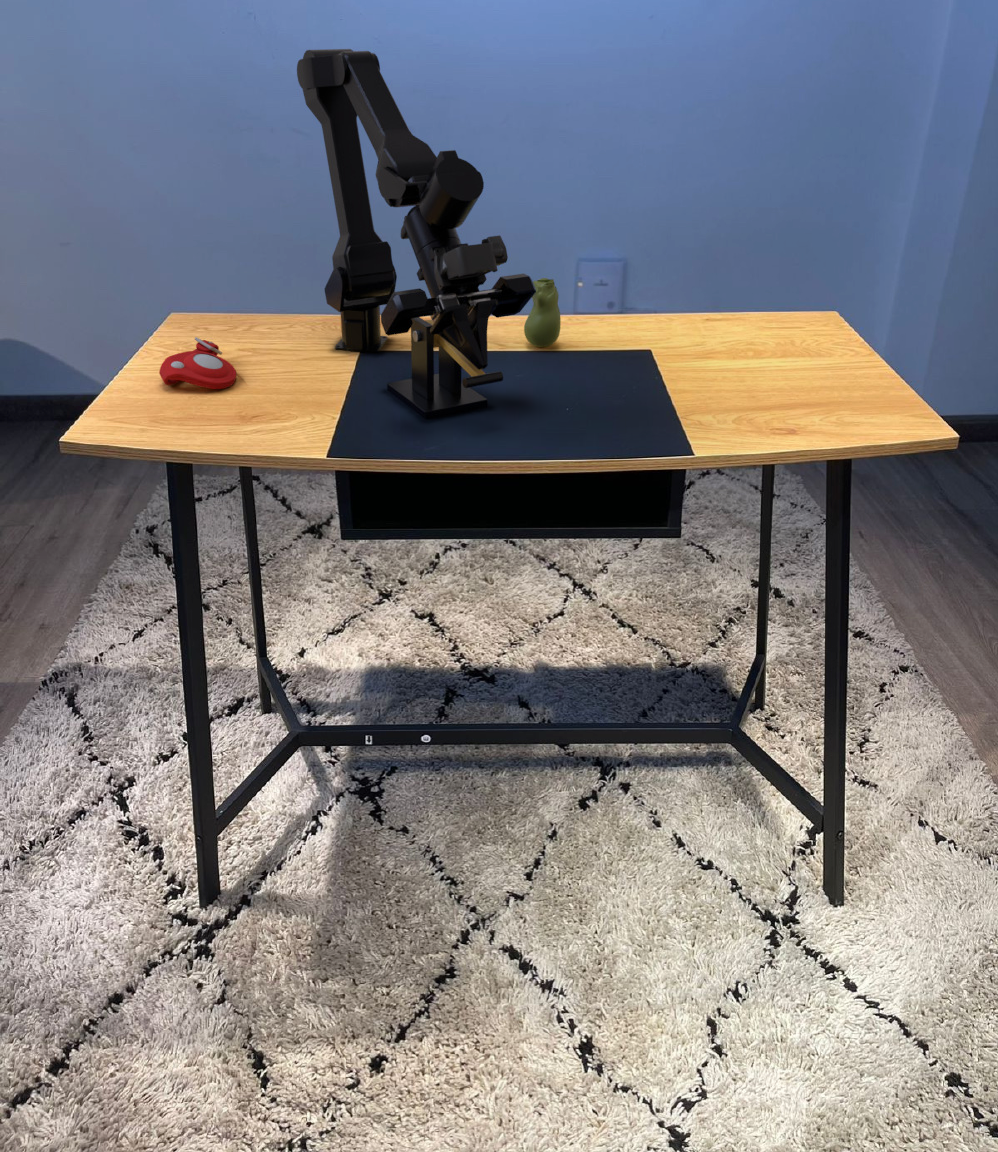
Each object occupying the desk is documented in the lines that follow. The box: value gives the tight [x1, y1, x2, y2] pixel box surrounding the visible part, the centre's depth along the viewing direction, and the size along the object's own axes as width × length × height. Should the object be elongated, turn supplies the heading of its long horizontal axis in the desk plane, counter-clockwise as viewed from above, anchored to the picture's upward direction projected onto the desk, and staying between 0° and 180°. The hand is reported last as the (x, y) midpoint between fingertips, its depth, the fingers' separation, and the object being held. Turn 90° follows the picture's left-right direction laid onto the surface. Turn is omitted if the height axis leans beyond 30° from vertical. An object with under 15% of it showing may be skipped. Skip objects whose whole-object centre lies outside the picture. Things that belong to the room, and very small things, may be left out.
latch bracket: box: [386, 317, 488, 420], centre depth 131 cm, size 11×9×11 cm
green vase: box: [523, 277, 562, 348], centre depth 150 cm, size 6×5×10 cm
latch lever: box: [424, 319, 504, 388], centre depth 126 cm, size 14×5×2 cm, turn 31°
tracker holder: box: [158, 336, 237, 390], centre depth 137 cm, size 12×4×10 cm
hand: (483, 367), depth 121 cm, fingers closed
